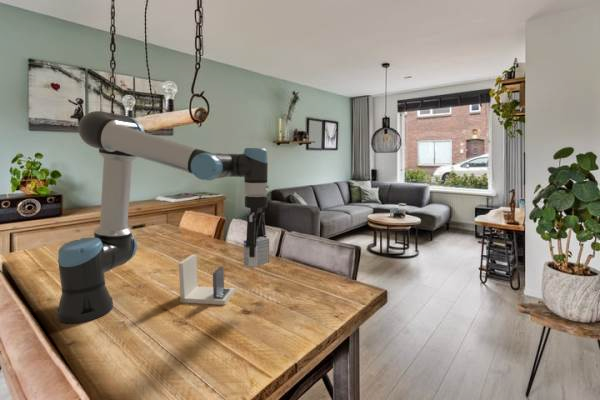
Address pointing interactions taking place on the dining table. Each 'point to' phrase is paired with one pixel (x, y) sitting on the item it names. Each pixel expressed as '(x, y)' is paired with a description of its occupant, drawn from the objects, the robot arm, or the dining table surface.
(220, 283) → the bookend
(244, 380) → the dining table surface
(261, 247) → the medicine box
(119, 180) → the robot arm
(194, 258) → the white l-shaped stand
